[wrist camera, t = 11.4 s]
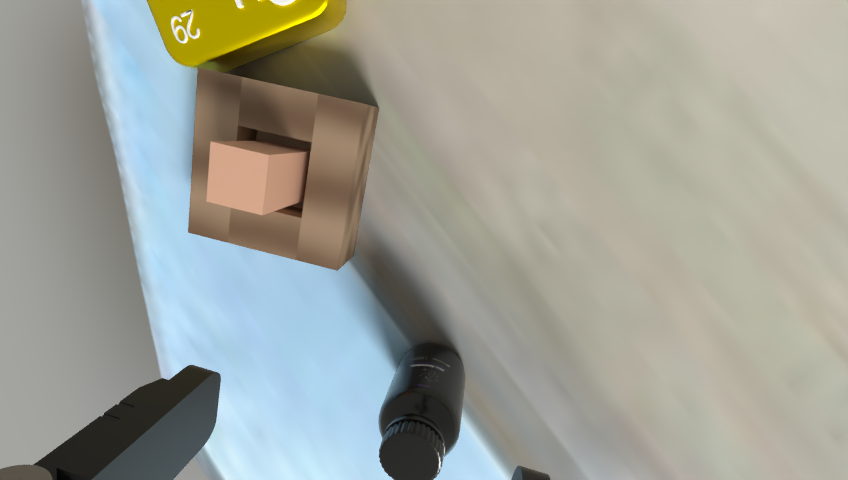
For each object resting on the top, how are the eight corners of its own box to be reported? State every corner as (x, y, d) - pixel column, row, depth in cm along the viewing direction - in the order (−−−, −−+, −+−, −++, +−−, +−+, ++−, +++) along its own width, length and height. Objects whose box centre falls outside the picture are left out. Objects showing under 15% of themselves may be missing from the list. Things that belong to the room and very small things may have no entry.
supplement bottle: (442, 329, 41) (426, 405, 29) (478, 384, 42) (475, 479, 30) (385, 358, 42) (348, 441, 31) (420, 410, 43) (397, 510, 32)
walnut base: (230, 75, 37) (197, 67, 33) (379, 107, 36) (364, 103, 32) (219, 222, 41) (188, 232, 37) (353, 256, 40) (337, 270, 36)
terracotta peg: (267, 140, 37) (210, 141, 29) (314, 151, 37) (268, 155, 29) (262, 188, 38) (206, 201, 30) (307, 199, 38) (262, 215, 30)
